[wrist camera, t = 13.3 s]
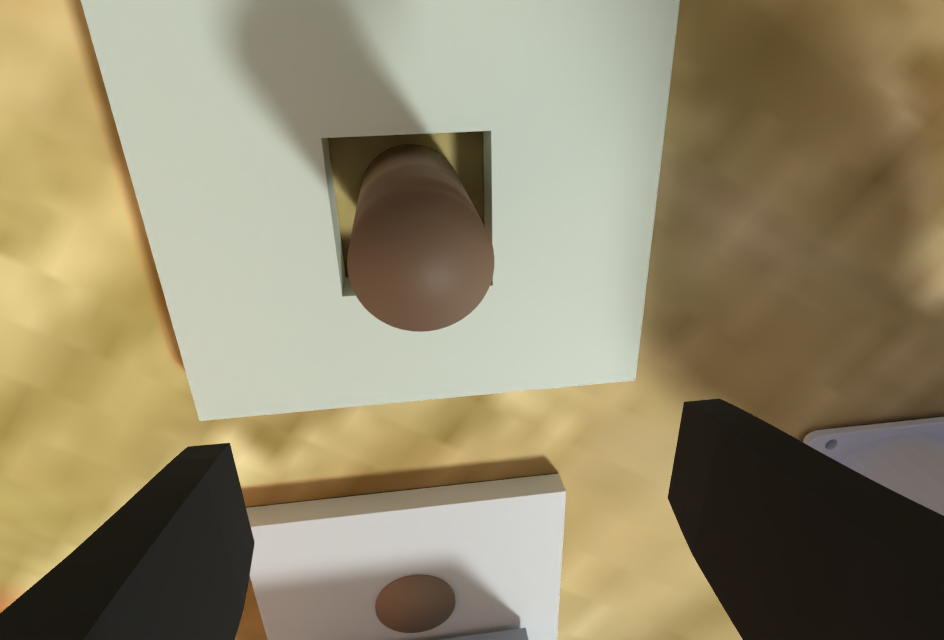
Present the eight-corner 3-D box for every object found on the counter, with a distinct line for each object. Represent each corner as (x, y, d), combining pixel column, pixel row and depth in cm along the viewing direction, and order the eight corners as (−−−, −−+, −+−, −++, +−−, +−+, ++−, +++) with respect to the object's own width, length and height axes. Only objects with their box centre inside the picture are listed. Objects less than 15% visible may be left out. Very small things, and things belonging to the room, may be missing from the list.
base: (559, 473, 22) (567, 494, 21) (549, 640, 27) (556, 664, 26) (243, 508, 21) (235, 531, 20) (287, 677, 25) (283, 704, 24)
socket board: (658, -34, 15) (684, -42, 14) (619, 358, 20) (635, 380, 19) (102, -27, 14) (71, -34, 12) (212, 394, 19) (199, 421, 18)
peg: (464, 147, 17) (500, 195, 11) (458, 245, 18) (488, 331, 12) (359, 142, 16) (345, 189, 11) (361, 244, 17) (349, 331, 12)
